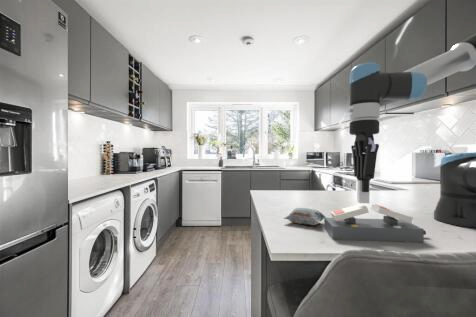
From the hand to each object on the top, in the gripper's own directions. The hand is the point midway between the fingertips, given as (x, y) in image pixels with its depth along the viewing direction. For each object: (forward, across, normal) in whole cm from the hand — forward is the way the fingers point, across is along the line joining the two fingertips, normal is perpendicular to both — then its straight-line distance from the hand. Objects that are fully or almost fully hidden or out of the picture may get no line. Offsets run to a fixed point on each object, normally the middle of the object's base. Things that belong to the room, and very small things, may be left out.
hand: (363, 202), depth 68 cm
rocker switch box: (+9, 0, +3) cm, 10 cm away
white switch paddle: (+4, 0, -4) cm, 5 cm away
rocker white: (+4, 0, +7) cm, 8 cm away
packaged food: (+10, -10, -15) cm, 20 cm away
